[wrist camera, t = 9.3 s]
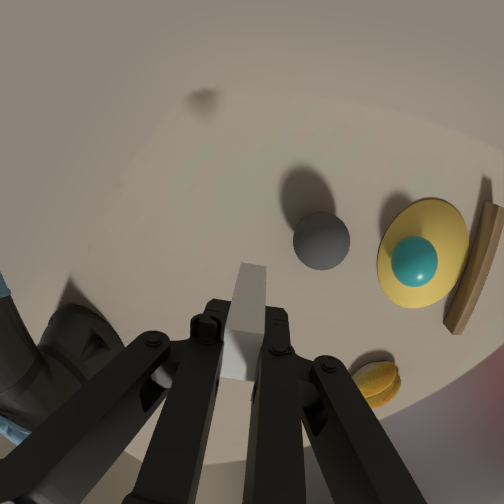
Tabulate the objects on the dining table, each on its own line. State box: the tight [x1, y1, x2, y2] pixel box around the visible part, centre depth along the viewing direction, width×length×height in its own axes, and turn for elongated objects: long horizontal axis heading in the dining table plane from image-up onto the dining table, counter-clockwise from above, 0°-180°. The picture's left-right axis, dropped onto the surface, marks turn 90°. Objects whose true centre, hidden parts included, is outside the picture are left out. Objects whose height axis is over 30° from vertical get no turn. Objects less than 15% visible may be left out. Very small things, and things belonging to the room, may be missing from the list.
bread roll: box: [352, 361, 401, 408], centre depth 34 cm, size 8×9×4 cm
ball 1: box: [293, 212, 350, 270], centre depth 26 cm, size 6×6×6 cm
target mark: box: [377, 199, 469, 308], centre depth 28 cm, size 14×14×1 cm
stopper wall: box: [443, 201, 504, 335], centre depth 26 cm, size 2×18×3 cm, turn 172°
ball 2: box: [391, 236, 438, 287], centre depth 26 cm, size 6×6×6 cm
